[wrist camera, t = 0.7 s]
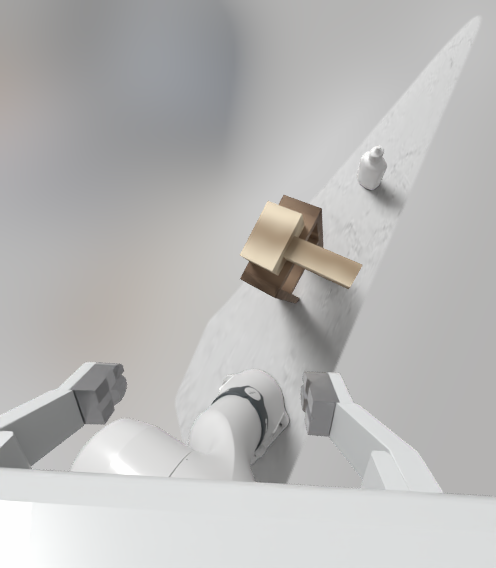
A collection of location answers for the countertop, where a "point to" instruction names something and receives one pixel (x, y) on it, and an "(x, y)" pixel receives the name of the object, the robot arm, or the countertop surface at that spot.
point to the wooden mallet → (294, 247)
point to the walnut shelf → (290, 272)
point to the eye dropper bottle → (372, 168)
